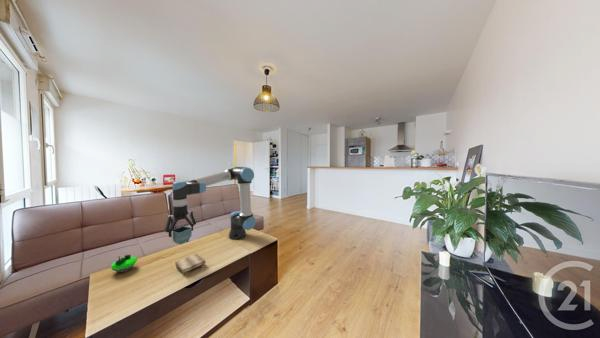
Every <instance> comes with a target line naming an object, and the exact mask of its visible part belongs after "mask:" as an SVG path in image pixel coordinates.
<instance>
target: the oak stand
mask: <svg viewBox="0 0 600 338" xmlns="http://www.w3.org/2000/svg"><path fill="white" fill-rule="evenodd" d="M205 265H206V260H205V259H204V258H203V257H202V256H201V255H199V254H198V253H195V254H192V255H190V256H188V257H185V258H182V259H180V260H177V261H175V268H176V270H179V271H181V272H182V275H183V276H186V275H188V273H189V272H190V271H191V270H194V269H195V268H197V267H200V266H201V268H204V267H205ZM203 266H204V267H203ZM188 271H189V272H188Z"/></svg>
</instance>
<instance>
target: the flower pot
mask: <svg viewBox="0 0 600 338" xmlns="http://www.w3.org/2000/svg"><path fill="white" fill-rule="evenodd" d="M172 231H173V241H174V242H173V243H175V244H177V245H180V246H181V245H183V244H186V243H187V242H189V241H190V239H191V238H192V236H191V231H192V228H190V227H189V226H185V225H184V226H182V225H181V226H180V227H179V226H178V227H177V228H175V229H174V228H173V230H172ZM192 232H193V231H192Z"/></svg>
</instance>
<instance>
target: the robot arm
mask: <svg viewBox="0 0 600 338" xmlns="http://www.w3.org/2000/svg"><path fill="white" fill-rule="evenodd" d="M254 177H255V173H254V171H253V169H252V168H251V167H247V166H235V167H231V168H229V169H225V170H224V171H222V172H218V173H214V174H211V175H207V176H204V177H199V178H196V179H192V180H181V181H180V180H179V181H174V182H173V183H172V204H173V205H172V206H173V209H172V210H173V214H171V215H169V214H168V215H167V221H166V223H165V224H166V225H165V227H164V232H165V233H168V237H169V238H170V242H171V243H175V242H174V241H173V231H172V230H174V228H175V227H176V224H177V223H178V222H179V221H180V220H185V221H186V222H187V223H188V227H190V228H192V231H191V237H193V231H194V227H195V225H197V222H196V219H195V217H194V212H193V211H192V210H189V211H188V205H187V204H188V197H187V196H190V195H199V194H203V193H205V192H206V191H207V187H209V186H212V185H215V184H218V183H221V182H226V181H233V180H235V181H236V180H237V184H238V186H239V199H240V200H239V202H240V204H239V205H240V210H236V211H231V213H230V217H229V218H230V230H229V233H228V238H229V239H231V240H240V239H243V238H245V237H246V236H247V233H246V231H249V230H252V229H253V228H254V227H255V225H256V222H257V219H256V218H255V216H254V212H253V211H252V203H251V202H252V201H251V200H252V199H251V184H252V183H253V179H254ZM188 215H189V217H188ZM189 218H190V219H189ZM172 219H173V221H172ZM171 221H172V222H171Z"/></svg>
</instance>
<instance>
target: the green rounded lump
mask: <svg viewBox="0 0 600 338" xmlns="http://www.w3.org/2000/svg"><path fill="white" fill-rule="evenodd" d="M137 261H138V257H135V256H131V254H125V255H124V257H121V258H120V256H119V255H118V259H117V260H116V261H114V262H113V263H112V264H111V266H110V269H111V270H112V271H115V272H116V273H117V272H118V273H125V272H127V271H129V270H130V269H132V268H133V267H134V265H136V263H137Z"/></svg>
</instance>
